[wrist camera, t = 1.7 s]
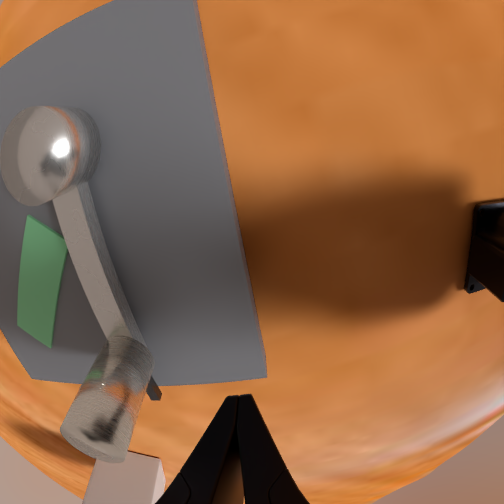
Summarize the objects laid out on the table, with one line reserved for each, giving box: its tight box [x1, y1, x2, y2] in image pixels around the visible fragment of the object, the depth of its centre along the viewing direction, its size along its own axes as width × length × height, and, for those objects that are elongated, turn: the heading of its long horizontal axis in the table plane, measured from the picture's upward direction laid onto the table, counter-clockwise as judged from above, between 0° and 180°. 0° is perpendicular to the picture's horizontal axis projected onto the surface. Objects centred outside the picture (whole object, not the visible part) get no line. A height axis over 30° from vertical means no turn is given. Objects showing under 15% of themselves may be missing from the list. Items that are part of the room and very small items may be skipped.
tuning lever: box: [0, 106, 162, 463], centre depth 10 cm, size 17×4×7 cm, turn 10°
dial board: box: [0, 0, 267, 386], centre depth 14 cm, size 20×22×2 cm
